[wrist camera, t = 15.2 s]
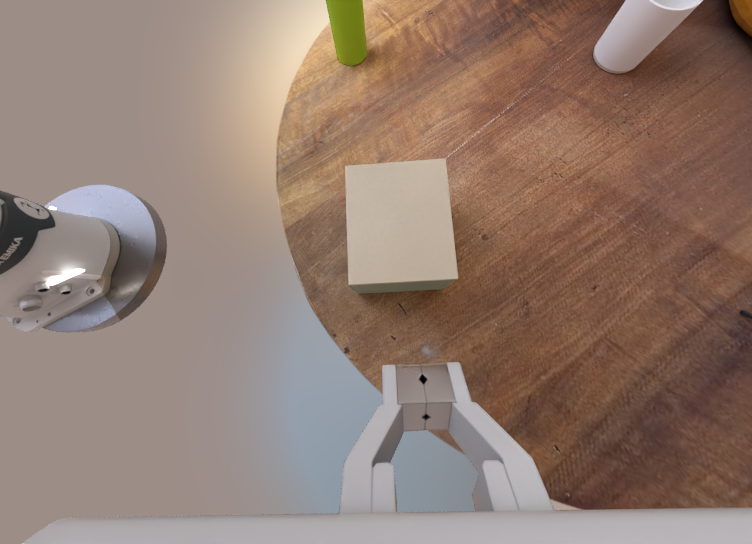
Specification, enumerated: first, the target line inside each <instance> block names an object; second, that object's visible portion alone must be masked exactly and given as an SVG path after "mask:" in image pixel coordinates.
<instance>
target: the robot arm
mask: <svg viewBox="0 0 752 544" xmlns="http://www.w3.org/2000/svg"><path fill="white" fill-rule="evenodd" d="M119 252H120V241H119V237H118V234H117V232H116V230H115V228H114V227H113V226H112V225H111V224H110V223H109V222H107V221H106V220H104V219H101V218H98V217H89V216H81V215H75V214H70V213H65V212H61V211H57V210H56V208H55V207H52V206H50V207H49V208H45V207H43V206H41V205H38V204H36V203H34V202H31V201H29V200H26V199H24V198H21V197H18V196H15V195H11V194H9V193H6V192H2V191H0V316H4V317H6V318H7V319H8V320H9V321H10V323H11V324H12V325H13V326H15V327H16V328H18V329H19V330H22V331H25V332H34V331H37V330H39V329H41V328H43V327H44V326H46V325H48V324H50V323H52V322H54V321H56V320H58V319H60V318H62V317H64V316H65V315H67V314H69V313H71V312H73V311H75V310H77V309H79V308H81V307H83V306H85V305H87V304H88V303H90V302H92V301H94V300H96V299H98V298H100V297H102V296H104V295H105V294H107V293H108V291H109V289H110V284H111V275H112V272H113V270H114V267H115V265H116V263H117V260H118V257H119ZM382 387H383V405H379V406H378V408H377V409H376V411H375V413H374V414H373V416H372V417H371V419H370V421H369V422H368V424H367V425H366V427H365V429H364V430H363V432H362V434H361V435H360V437H359V439H358V440H357V442H356V443H355V445H354V447H353V448H352V450H351V451H350V453H349V455H348V456H347V458H346V459H345V461H344V466H343V476H342V487H341V497H340V507H339V514H274V515H207V516H149V517H148V516H146V517H145V516H142V517H72V518H64V519H59V520H57V521H55V522H52V523H51V524H49V525H48V526H46V527H45V528H43V529H42V530H40V531H39V532H37V533H36V534H34V535H33V536H31V537H30V538H29V539H27V540H26V541H25V542H24V543H22V544H752V507H738V508H671V509H605V510H554V508H553V506H552V503H551V501H550V498H549V496H548V494H547V491H546V489H545V487H544V484H543V482H542V479H541V477H540V475H539V472H538V470H537V468H536V465H535V463H534V460H533V458H532V457H531V456H530V455H529V454H528V453H527V452H526V451H525V450H524V449H523V448H522V447H521V446H520V445H519V444H518V443H517V442H516V441H515V440H514V439H513V438H512V437H511V436H510V435H509V434H508V433H507V432H506V431H505V430H504V429H503V428H502V427H501V426H500V425H499V424H498V423H497V422H496V421H495V420H494V419H493V418H492V417H491V416H489V415H488V414H487V413H486V412H485V411H484V410H483V409H482V408H481V407H480V406H479V405H478V404H477V403H476V402H472V401H471V397H470V394H469V391H468V388H467V384H466V381H465V378H464V375H463V371H462V368H461V365H460V363H459V362H450V363H445V362H442V363H425V364H408V365H396V367H395V365H383V367H382ZM418 430H448V432H449V433H450V435H451V436H452V437H453V439H454V440H455V441H456V443H457V444H458V445H459V447H460V448H461V449H462V451H463V452H464V454H465V455H466V456H467V458H468V459H469V460H470V462H471V463H472V464H473V466H474V467H475V468H476V470H477V471H478V473H479V475H478V478H477V481H476V484H475V487H474V490H473V493H472V497H473V501H474V505H475V510H476V511H475V512H474V511H473V512H472V511H471V512H407V513H406V512H405V513H397V501H396V488H395V475H394V467H393V466H392V465H391V464H390V461H391V459H392V457H393V455H394V453H395V450H396V448H397V446H398V444H399V441H400V439H401V437H402V435H403V431H418Z"/></svg>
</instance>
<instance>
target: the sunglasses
mask: <svg viewBox="0 0 752 544" xmlns="http://www.w3.org/2000/svg"><path fill="white" fill-rule="evenodd" d="M740 313H741V314H743V315H744V316H746V317H748V318H750V319H752V314H750V313H749V312H747V311H745V310H742V311H741V312H740Z"/></svg>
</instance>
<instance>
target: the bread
mask: <svg viewBox="0 0 752 544" xmlns="http://www.w3.org/2000/svg"><path fill="white" fill-rule="evenodd" d="M729 4H730V8H731V11H732V15H733V18H734V19H735V21H736V23H737V24H738V25H739V26H740V27H741V28H742V29H743V30H744V31H745V32H746V33H747V34H748V35H750V36H751V37H752V0H729Z"/></svg>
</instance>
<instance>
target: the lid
mask: <svg viewBox="0 0 752 544" xmlns="http://www.w3.org/2000/svg"><path fill="white" fill-rule="evenodd" d="M345 180H346V215H347V250H348V285H349V286H354V285H372V284H390V283H408V282H426V281H445V280H457V279H458V270H457V261H456V252H455V242H454V233H453V223H452V214H451V205H450V195H449V186H448V176H447V167H446V159H432V160H418V161H405V162H392V163H379V164H365V165H352V166H345Z"/></svg>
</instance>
